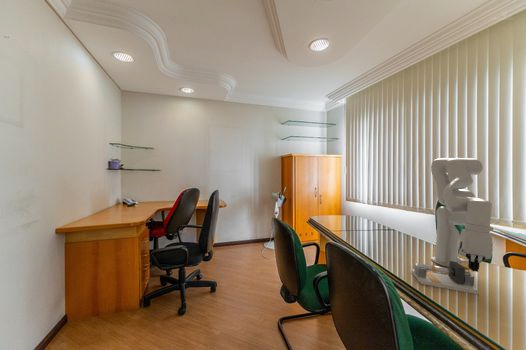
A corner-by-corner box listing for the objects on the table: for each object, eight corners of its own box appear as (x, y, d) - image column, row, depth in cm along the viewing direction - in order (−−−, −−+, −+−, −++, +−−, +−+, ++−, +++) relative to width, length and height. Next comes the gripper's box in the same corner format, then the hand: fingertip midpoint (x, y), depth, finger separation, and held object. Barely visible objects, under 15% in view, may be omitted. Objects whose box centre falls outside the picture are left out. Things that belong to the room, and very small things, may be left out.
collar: (454, 277, 99) (456, 261, 99) (463, 284, 93) (465, 268, 92) (448, 275, 100) (449, 260, 100) (456, 283, 93) (458, 267, 93)
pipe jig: (461, 280, 101) (462, 265, 100) (478, 294, 89) (479, 277, 89) (411, 271, 106) (412, 258, 106) (421, 283, 95) (422, 268, 95)
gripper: (492, 228, 95) (489, 269, 96) (451, 224, 100) (448, 263, 100) (505, 233, 88) (501, 277, 88) (460, 228, 92) (457, 270, 93)
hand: (473, 270), depth 94 cm, fingers closed
